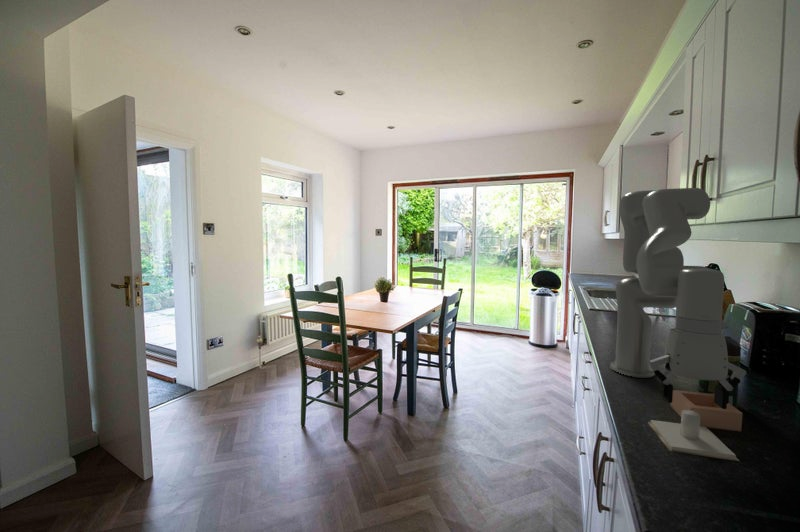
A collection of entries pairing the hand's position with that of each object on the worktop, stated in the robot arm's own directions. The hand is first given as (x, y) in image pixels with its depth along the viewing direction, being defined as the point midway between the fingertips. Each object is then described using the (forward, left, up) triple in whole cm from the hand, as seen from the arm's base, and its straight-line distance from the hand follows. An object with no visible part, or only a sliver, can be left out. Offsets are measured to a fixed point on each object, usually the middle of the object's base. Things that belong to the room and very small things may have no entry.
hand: (693, 403), depth 76 cm
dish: (-13, +8, -9) cm, 18 cm away
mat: (-1, 0, -9) cm, 9 cm away
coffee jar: (-24, +16, -10) cm, 30 cm away
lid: (-1, 0, -9) cm, 9 cm away
